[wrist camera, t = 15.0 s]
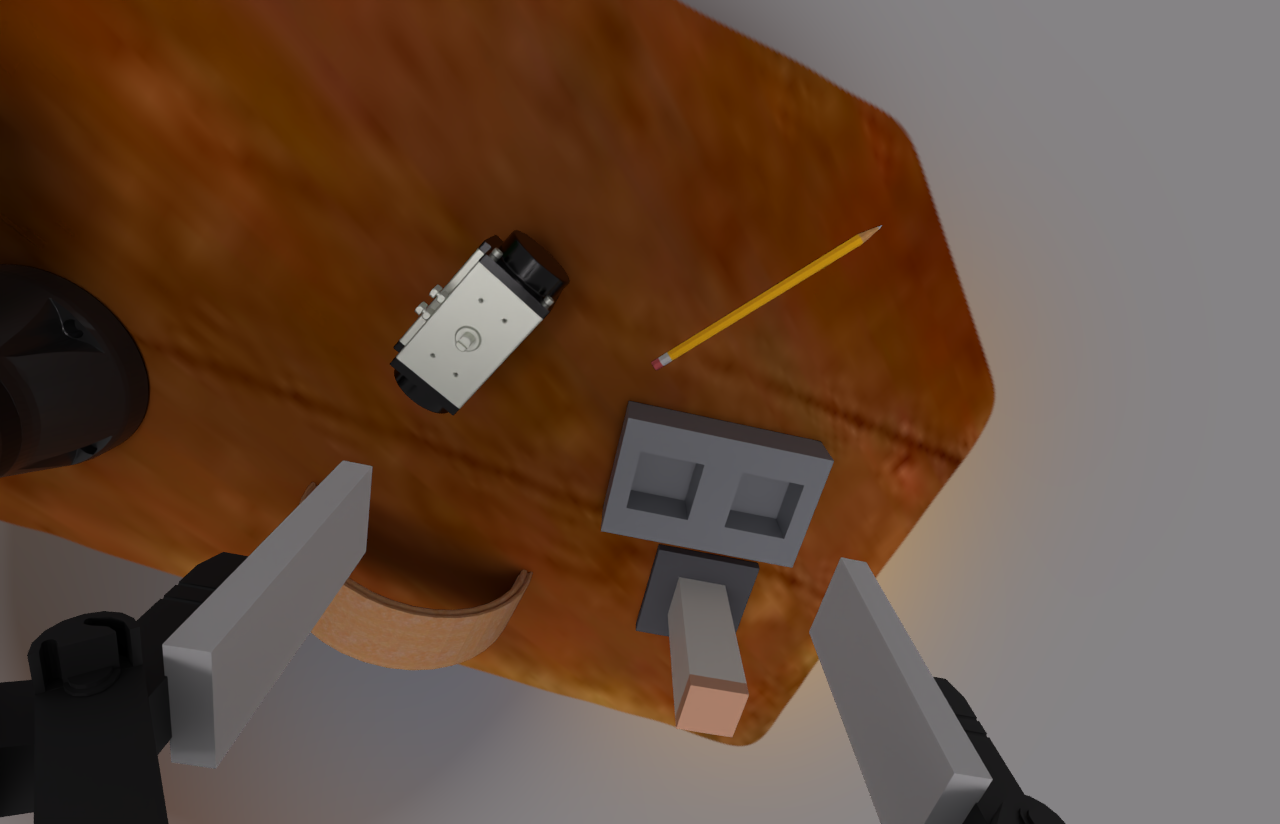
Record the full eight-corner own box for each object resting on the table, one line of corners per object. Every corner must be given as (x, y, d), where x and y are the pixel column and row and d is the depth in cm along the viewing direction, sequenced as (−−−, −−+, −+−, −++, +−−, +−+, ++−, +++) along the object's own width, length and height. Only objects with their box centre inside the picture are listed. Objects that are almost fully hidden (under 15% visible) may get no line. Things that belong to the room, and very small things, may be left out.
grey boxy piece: (602, 508, 52) (600, 530, 49) (628, 400, 48) (628, 417, 45) (782, 543, 53) (792, 567, 50) (820, 441, 50) (833, 460, 46)
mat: (635, 624, 56) (635, 630, 56) (658, 544, 53) (659, 549, 52) (729, 641, 57) (730, 647, 57) (757, 563, 54) (759, 568, 53)
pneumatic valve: (582, 264, 44) (564, 297, 33) (480, 374, 47) (433, 439, 36) (523, 208, 43) (484, 223, 32) (422, 325, 46) (354, 377, 35)
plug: (667, 614, 55) (676, 728, 44) (679, 577, 54) (691, 685, 42) (712, 622, 55) (732, 737, 44) (725, 585, 54) (748, 694, 43)
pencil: (650, 360, 47) (651, 363, 47) (878, 219, 43) (881, 220, 43) (656, 369, 48) (656, 371, 47) (882, 229, 44) (886, 230, 43)
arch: (314, 479, 51) (242, 549, 41) (533, 571, 54) (513, 655, 45) (293, 531, 53) (221, 610, 43) (507, 618, 56) (483, 707, 47)
